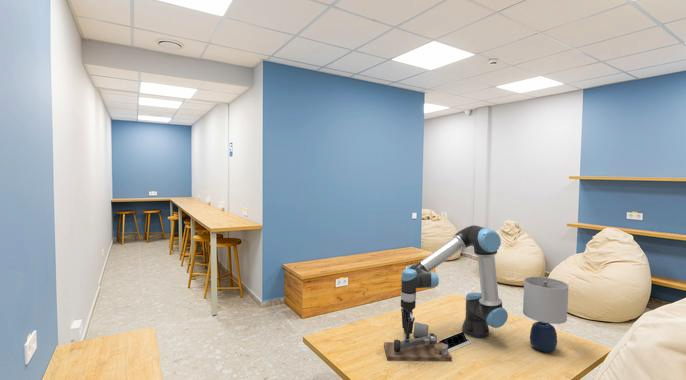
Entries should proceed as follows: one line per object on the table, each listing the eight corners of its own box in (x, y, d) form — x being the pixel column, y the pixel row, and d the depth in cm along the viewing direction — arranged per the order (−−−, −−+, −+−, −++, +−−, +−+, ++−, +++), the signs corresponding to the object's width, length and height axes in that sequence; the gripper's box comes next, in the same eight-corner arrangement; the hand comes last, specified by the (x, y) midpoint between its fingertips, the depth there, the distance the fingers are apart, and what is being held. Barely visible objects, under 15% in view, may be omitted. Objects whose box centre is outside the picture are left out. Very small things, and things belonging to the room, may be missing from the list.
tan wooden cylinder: (441, 350, 182) (441, 343, 182) (443, 354, 178) (443, 347, 178) (433, 350, 182) (433, 343, 182) (435, 354, 178) (435, 347, 178)
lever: (433, 340, 190) (433, 331, 190) (439, 344, 185) (439, 335, 185) (391, 348, 180) (391, 339, 180) (397, 353, 175) (397, 344, 175)
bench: (443, 346, 191) (443, 335, 190) (451, 361, 176) (452, 349, 175) (383, 345, 191) (384, 334, 190) (387, 360, 176) (387, 348, 175)
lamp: (559, 343, 195) (562, 278, 193) (570, 362, 176) (573, 289, 174) (519, 337, 202) (521, 274, 200) (524, 354, 183) (527, 284, 181)
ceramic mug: (428, 340, 198) (428, 326, 197) (413, 338, 199) (413, 325, 199) (427, 332, 208) (428, 319, 208) (413, 330, 210) (413, 317, 209)
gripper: (396, 295, 187) (395, 338, 189) (405, 305, 175) (404, 351, 176) (410, 294, 189) (408, 337, 190) (420, 304, 176) (418, 350, 178)
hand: (406, 344), depth 183 cm, fingers closed
